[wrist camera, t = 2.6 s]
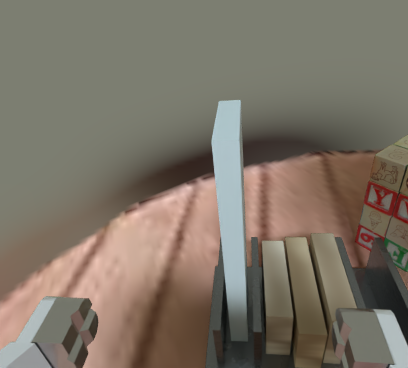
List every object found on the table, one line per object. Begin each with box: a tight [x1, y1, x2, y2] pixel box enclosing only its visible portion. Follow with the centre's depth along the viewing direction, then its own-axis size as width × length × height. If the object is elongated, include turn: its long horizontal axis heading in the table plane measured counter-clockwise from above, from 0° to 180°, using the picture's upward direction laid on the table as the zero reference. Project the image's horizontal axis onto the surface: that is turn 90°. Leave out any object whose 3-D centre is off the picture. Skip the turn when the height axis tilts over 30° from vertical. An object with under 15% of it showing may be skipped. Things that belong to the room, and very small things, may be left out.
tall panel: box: [212, 100, 248, 342], centre depth 25 cm, size 2×6×20 cm, turn 174°
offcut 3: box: [309, 233, 357, 364], centre depth 28 cm, size 2×9×6 cm, turn 174°
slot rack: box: [205, 237, 408, 368], centre depth 29 cm, size 17×11×6 cm, turn 84°
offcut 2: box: [284, 237, 327, 368], centre depth 29 cm, size 2×10×5 cm, turn 174°
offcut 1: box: [262, 241, 293, 355], centre depth 29 cm, size 2×8×6 cm, turn 174°
